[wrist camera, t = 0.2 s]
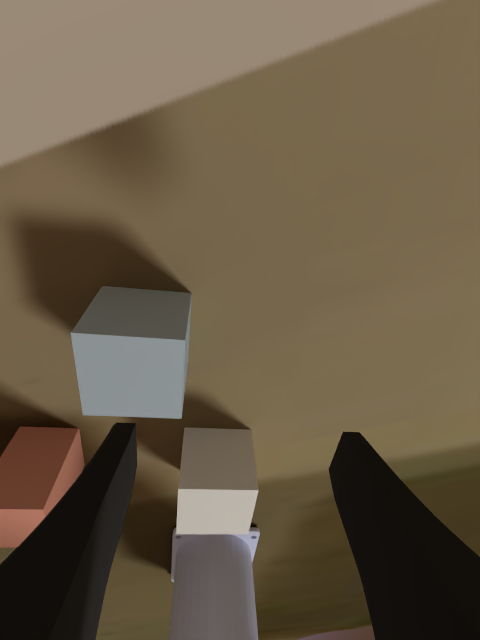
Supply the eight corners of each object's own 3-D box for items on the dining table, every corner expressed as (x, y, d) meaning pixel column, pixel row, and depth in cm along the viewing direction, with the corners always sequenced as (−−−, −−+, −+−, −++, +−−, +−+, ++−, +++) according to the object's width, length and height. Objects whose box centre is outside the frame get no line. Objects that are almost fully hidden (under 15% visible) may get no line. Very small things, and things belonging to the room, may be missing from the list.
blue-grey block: (187, 361, 23) (181, 418, 18) (108, 356, 22) (82, 415, 18) (191, 292, 20) (185, 340, 16) (102, 285, 20) (70, 332, 15)
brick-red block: (84, 464, 27) (53, 547, 22) (30, 463, 26) (-16, 547, 21) (78, 428, 25) (43, 509, 20) (19, 426, 24) (-33, 508, 19)
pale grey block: (243, 471, 29) (248, 534, 24) (182, 470, 28) (176, 534, 24) (251, 428, 26) (258, 490, 22) (184, 426, 26) (178, 489, 21)
